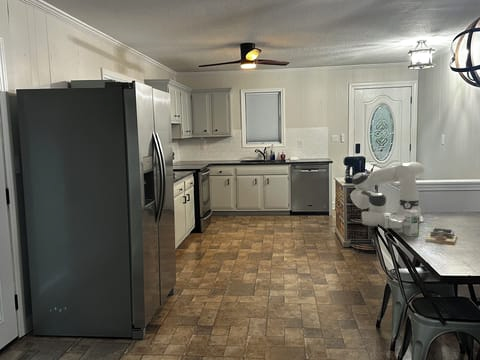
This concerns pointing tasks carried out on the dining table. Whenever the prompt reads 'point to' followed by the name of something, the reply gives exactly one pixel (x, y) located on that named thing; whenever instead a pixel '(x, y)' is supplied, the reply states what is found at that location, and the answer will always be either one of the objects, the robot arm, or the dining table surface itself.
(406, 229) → the syrup box
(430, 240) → the socket board
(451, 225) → the dining table surface
